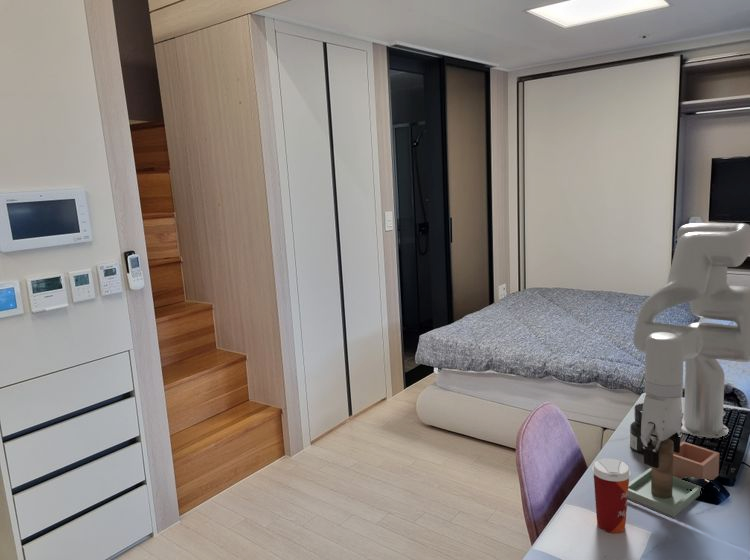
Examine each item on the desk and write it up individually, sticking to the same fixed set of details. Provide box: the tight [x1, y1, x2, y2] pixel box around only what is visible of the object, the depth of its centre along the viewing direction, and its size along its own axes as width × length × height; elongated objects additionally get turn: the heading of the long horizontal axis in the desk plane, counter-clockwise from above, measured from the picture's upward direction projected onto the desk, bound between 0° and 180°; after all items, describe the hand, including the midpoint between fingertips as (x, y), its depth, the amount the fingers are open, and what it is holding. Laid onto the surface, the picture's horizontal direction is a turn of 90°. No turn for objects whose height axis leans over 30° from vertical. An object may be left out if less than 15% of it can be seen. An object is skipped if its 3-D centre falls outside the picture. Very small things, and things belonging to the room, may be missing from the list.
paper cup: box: [591, 458, 632, 534], centre depth 122 cm, size 8×8×14 cm
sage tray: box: [627, 467, 702, 520], centre depth 132 cm, size 13×12×2 cm
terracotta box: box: [673, 441, 720, 481], centre depth 138 cm, size 9×9×6 cm
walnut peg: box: [651, 437, 674, 499], centre depth 131 cm, size 4×4×13 cm
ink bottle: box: [629, 402, 658, 456], centre depth 152 cm, size 10×9×12 cm
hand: (662, 458), depth 130 cm, fingers open, 9 cm apart
